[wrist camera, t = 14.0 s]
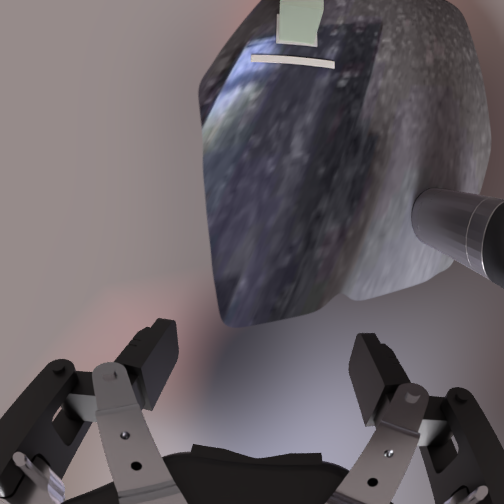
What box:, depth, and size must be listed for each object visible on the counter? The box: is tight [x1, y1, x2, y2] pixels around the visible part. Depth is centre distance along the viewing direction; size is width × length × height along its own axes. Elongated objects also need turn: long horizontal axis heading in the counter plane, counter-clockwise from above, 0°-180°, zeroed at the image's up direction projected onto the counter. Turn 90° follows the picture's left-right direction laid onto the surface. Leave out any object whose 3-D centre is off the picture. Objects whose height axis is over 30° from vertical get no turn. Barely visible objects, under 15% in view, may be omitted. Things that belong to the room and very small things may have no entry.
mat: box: [276, 14, 317, 47], centre depth 30 cm, size 6×6×1 cm
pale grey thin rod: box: [251, 55, 335, 69], centre depth 31 cm, size 12×1×1 cm, turn 87°
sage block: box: [279, 0, 324, 44], centre depth 25 cm, size 5×5×10 cm
